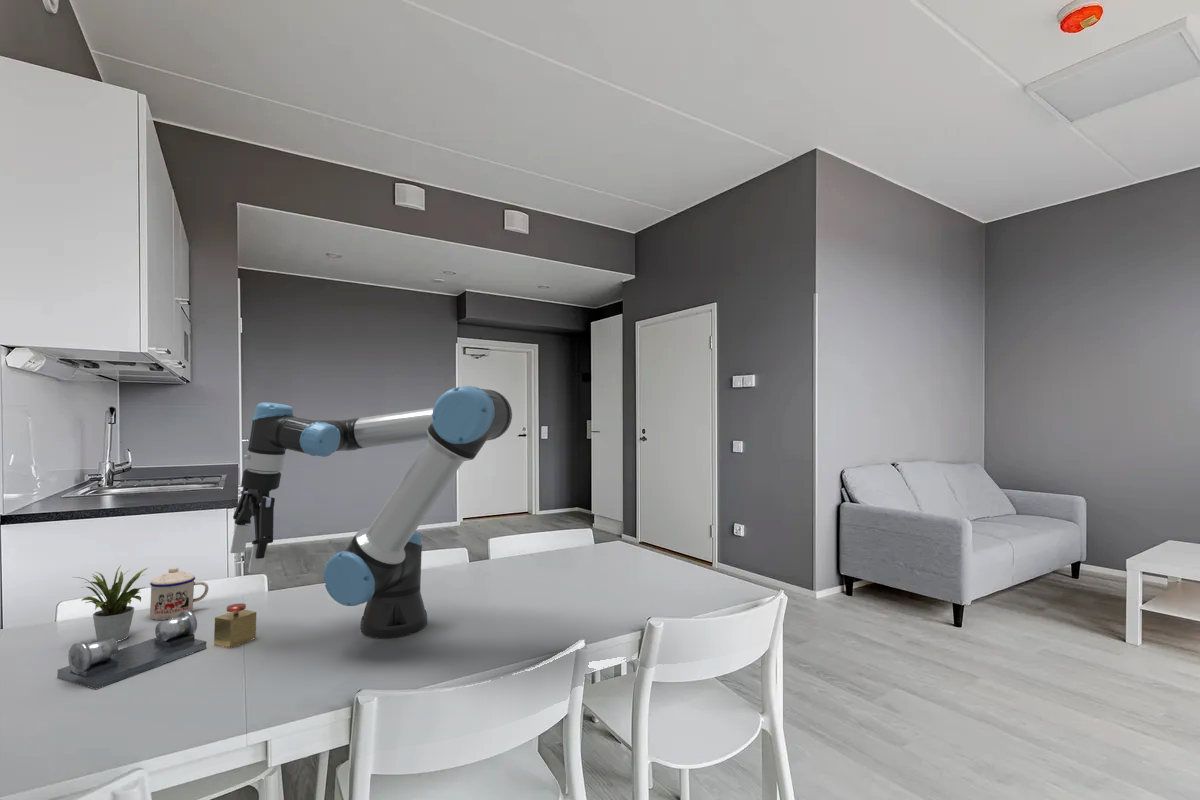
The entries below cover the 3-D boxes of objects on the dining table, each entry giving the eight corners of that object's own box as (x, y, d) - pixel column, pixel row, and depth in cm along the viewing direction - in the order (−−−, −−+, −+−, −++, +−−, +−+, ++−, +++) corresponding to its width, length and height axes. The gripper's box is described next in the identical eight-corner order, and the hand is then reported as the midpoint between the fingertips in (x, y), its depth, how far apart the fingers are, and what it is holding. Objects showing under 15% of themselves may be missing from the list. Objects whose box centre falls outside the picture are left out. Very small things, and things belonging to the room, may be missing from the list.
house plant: (51, 659, 115) (55, 579, 116) (70, 637, 127) (73, 563, 127) (141, 645, 123) (144, 570, 123) (150, 625, 134) (153, 556, 135)
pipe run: (169, 639, 126) (171, 606, 126) (206, 648, 122) (207, 614, 122) (57, 677, 107) (59, 638, 108) (95, 689, 103) (97, 648, 103)
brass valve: (240, 635, 129) (241, 600, 130) (255, 638, 127) (256, 603, 128) (213, 645, 124) (215, 608, 124) (229, 648, 122) (231, 611, 122)
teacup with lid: (148, 623, 136) (150, 574, 136) (148, 613, 143) (150, 566, 143) (209, 613, 143) (210, 567, 144) (206, 604, 150) (207, 560, 151)
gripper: (228, 458, 134) (212, 546, 134) (262, 482, 118) (243, 582, 117) (263, 459, 140) (247, 544, 140) (300, 483, 123) (282, 578, 123)
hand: (245, 561), depth 129 cm, fingers open, 13 cm apart
